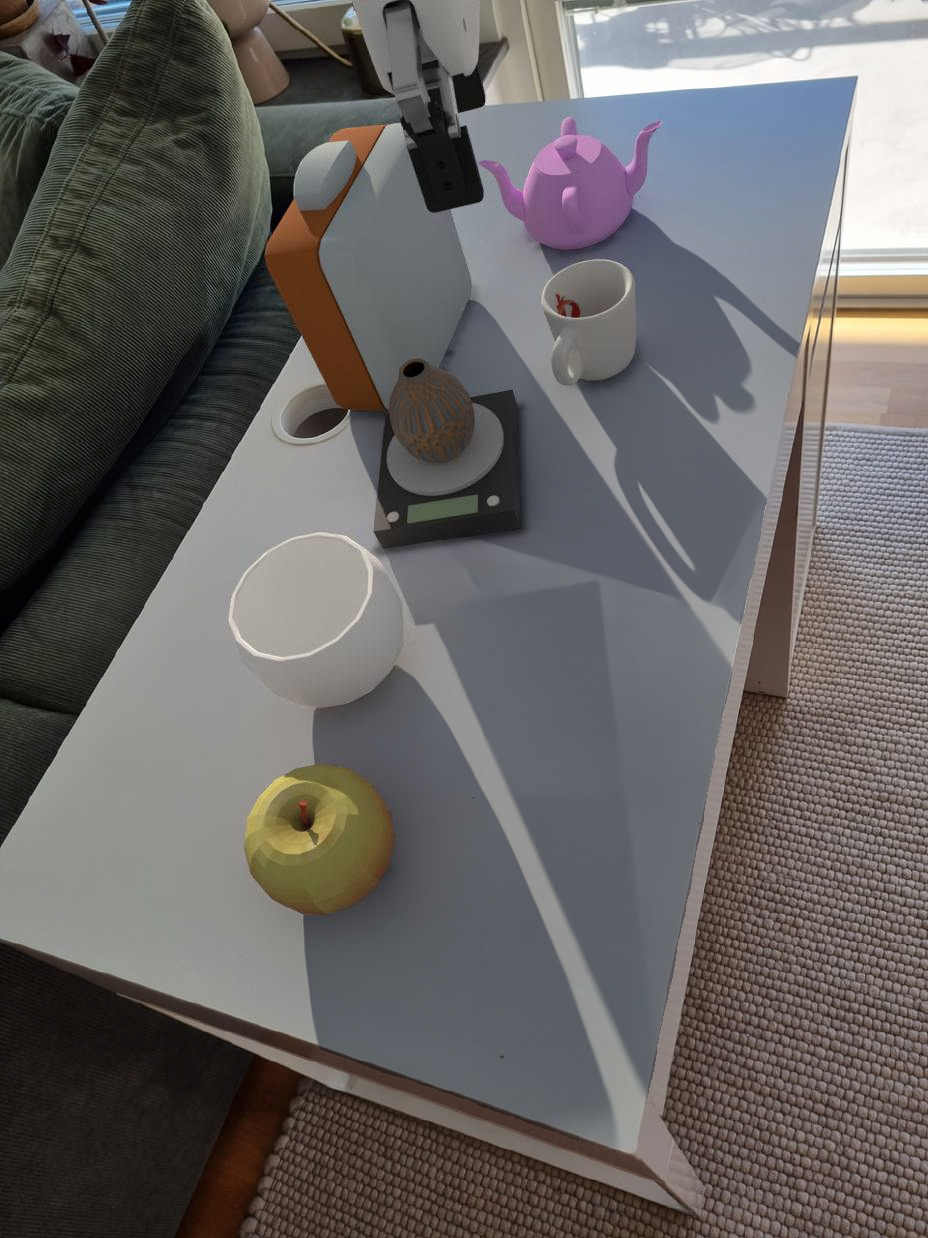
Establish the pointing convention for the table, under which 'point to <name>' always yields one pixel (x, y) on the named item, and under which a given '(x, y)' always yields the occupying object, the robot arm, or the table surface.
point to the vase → (431, 412)
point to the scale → (453, 482)
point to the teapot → (575, 189)
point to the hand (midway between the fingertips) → (459, 154)
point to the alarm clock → (367, 265)
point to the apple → (319, 839)
